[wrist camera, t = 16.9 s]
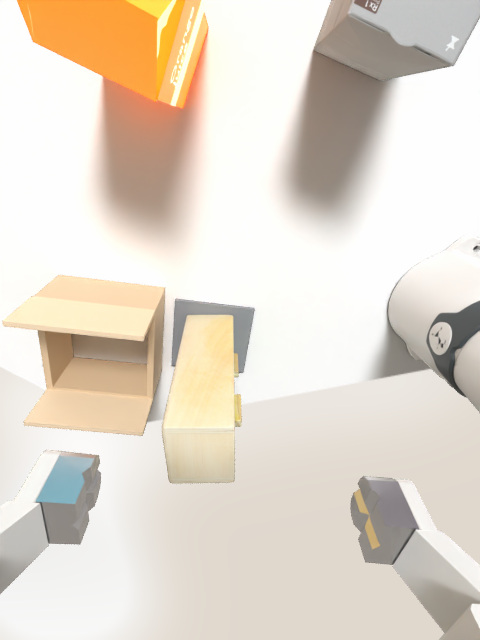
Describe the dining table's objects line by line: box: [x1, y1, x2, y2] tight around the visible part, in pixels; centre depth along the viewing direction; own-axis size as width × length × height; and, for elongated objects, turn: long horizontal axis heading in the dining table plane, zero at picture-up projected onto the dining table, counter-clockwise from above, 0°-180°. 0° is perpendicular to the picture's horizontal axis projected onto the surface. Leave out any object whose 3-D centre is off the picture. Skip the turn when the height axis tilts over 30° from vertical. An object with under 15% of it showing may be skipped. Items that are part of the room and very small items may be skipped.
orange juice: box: [17, 0, 208, 108], centre depth 27 cm, size 8×9×20 cm
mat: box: [172, 299, 255, 373], centre depth 52 cm, size 11×11×1 cm
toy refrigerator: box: [162, 315, 242, 483], centre depth 42 cm, size 8×7×21 cm
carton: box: [2, 275, 165, 436], centre depth 45 cm, size 14×14×13 cm
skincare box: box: [314, 0, 480, 81], centre depth 28 cm, size 8×7×16 cm
